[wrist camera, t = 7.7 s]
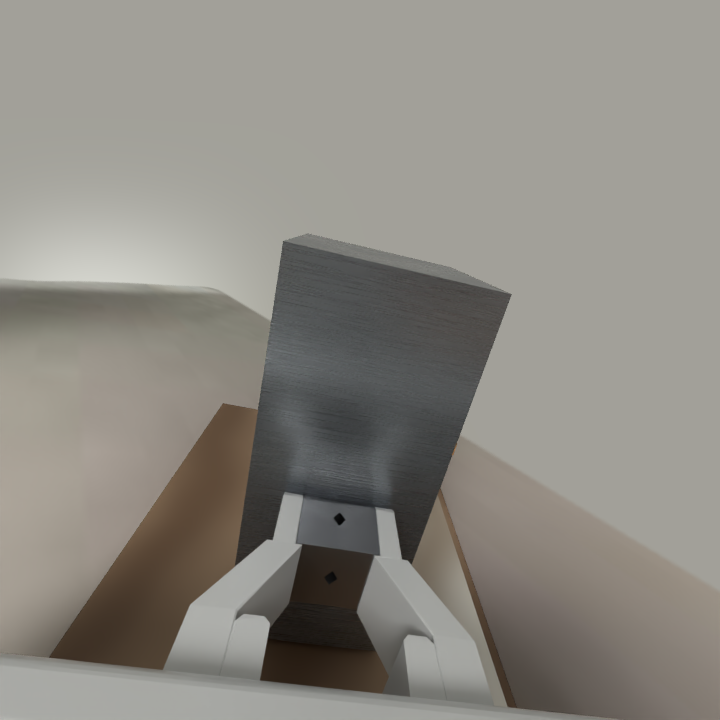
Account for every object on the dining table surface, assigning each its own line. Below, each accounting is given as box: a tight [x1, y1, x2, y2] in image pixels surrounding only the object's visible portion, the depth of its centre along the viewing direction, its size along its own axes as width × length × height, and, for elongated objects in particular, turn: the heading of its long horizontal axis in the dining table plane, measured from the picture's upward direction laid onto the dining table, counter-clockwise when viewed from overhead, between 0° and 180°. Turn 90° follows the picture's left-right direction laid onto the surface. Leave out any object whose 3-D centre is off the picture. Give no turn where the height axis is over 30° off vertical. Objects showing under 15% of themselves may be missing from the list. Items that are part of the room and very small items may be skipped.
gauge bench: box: [49, 403, 517, 708], centre depth 14 cm, size 14×22×8 cm, turn 2°
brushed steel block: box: [235, 234, 511, 651], centre depth 14 cm, size 5×10×12 cm, turn 2°
